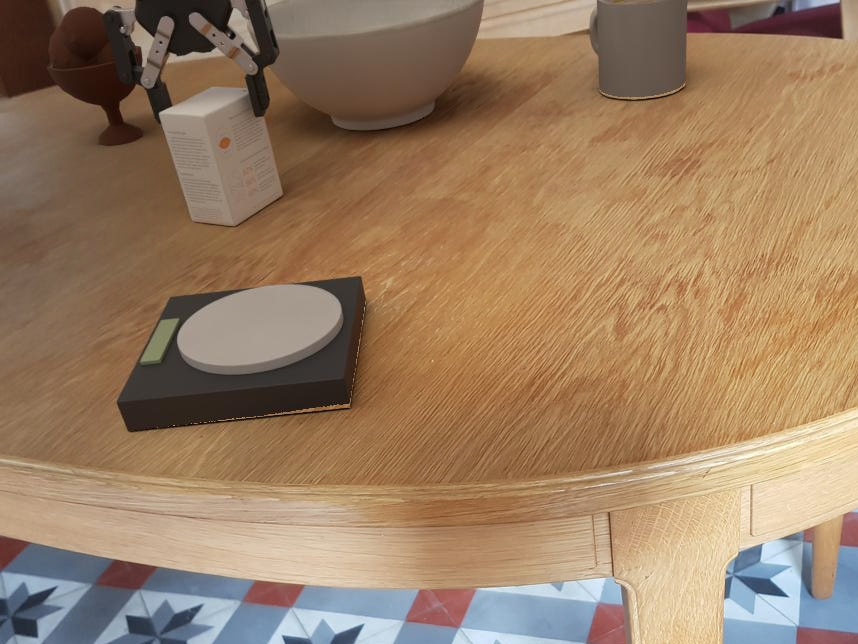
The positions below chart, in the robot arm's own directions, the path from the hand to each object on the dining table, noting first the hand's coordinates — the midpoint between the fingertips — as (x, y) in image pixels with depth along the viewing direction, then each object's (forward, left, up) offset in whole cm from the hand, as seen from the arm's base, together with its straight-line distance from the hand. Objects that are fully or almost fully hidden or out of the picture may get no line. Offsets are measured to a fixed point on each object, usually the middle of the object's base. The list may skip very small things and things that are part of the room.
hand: (215, 120), depth 88 cm
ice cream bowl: (-20, +29, -9) cm, 36 cm away
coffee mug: (+43, +26, -9) cm, 51 cm away
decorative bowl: (+13, +26, -9) cm, 30 cm away
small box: (0, 0, -9) cm, 9 cm away
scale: (+7, -31, -9) cm, 33 cm away
